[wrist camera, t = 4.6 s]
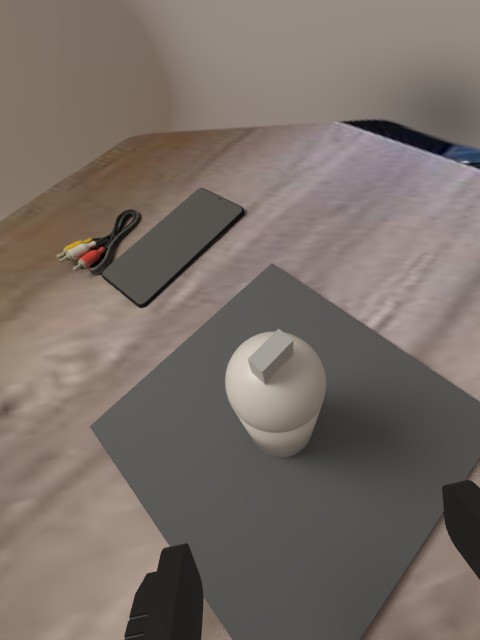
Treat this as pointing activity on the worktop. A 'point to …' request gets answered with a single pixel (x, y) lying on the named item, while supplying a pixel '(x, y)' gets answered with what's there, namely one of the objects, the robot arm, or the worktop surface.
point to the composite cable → (99, 246)
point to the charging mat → (294, 468)
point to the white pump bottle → (276, 391)
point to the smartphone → (172, 246)
